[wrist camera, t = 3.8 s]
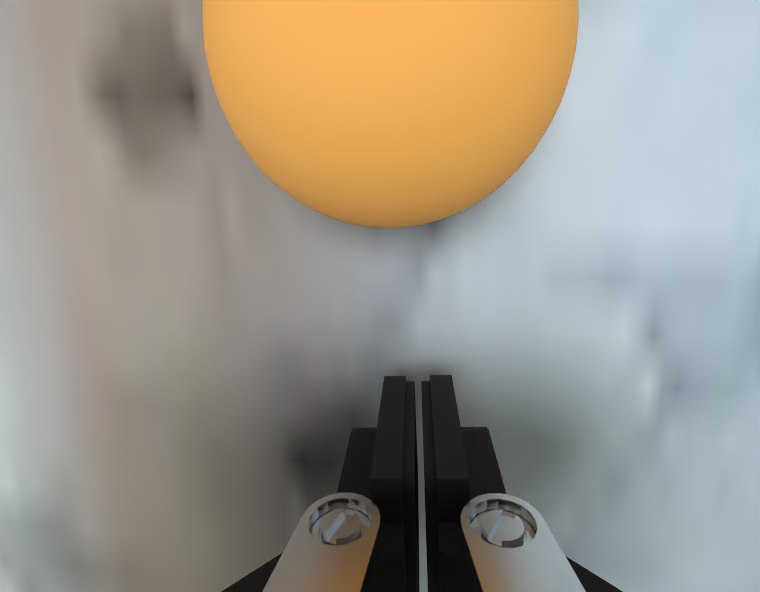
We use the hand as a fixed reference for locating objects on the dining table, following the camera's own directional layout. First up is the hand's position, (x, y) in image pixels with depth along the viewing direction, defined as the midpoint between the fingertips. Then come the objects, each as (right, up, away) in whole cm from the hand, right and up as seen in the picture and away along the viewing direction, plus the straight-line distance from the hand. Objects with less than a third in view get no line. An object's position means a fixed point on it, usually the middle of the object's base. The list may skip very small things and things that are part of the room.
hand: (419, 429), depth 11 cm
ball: (-1, +8, -3) cm, 8 cm away
